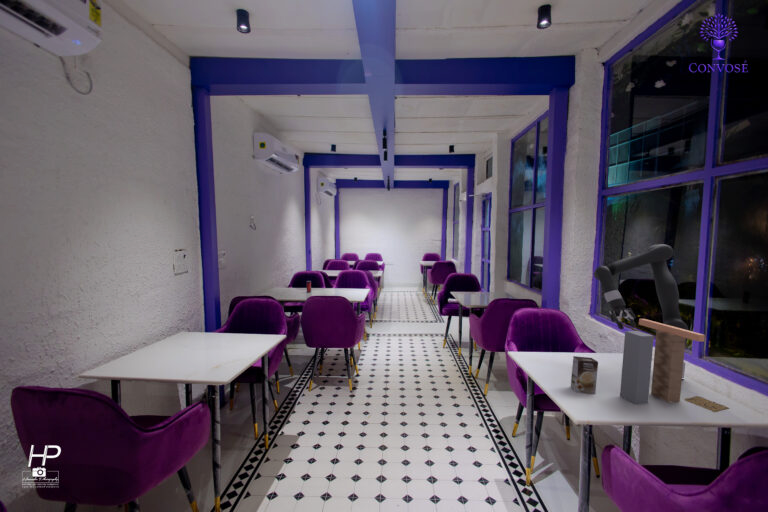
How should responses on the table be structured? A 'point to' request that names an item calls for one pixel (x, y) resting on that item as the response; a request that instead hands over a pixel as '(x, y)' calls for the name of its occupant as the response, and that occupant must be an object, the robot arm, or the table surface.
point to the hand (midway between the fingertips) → (628, 328)
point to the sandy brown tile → (706, 404)
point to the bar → (672, 330)
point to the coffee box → (584, 374)
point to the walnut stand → (668, 366)
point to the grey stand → (636, 367)
